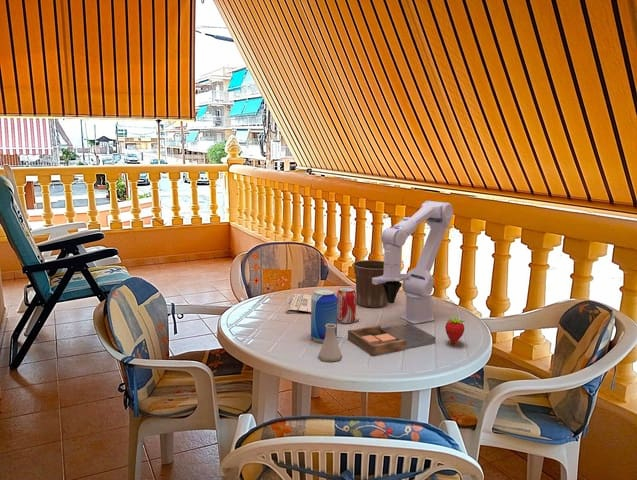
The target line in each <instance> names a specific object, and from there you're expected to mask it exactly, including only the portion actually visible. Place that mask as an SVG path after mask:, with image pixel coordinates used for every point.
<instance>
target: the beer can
mask: <svg viewBox="0 0 637 480" xmlns="http://www.w3.org/2000/svg"><path fill="white" fill-rule="evenodd" d="M313 292H314V293H313V294H312V295H313V296H312V298H311V312H310V336H311V338H312V340H313V341H315V342H317V343H321V344H323V342H324V340H325V336H326V327H325V326H326V324H335V325H336V328H335V334H336V337H337V335H338V320H337V300H338V299H337V294H336V291H335V290H333V289H331V288H318V289H315V290H314V291H313Z"/></svg>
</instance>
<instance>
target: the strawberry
mask: <svg viewBox="0 0 637 480" xmlns="http://www.w3.org/2000/svg"><path fill="white" fill-rule="evenodd" d="M458 315H459V314H457V315H456V316H455V317H452V318H449V319H448V320H447V322H446V323H445V333H446V336H447V338H448V339H449V340H450V343H451V344H452V345H455V344H456V343H457V342H459V340H461V339H460V338H462V336H463V335H464V332H465V324H464V323H466V322H465V320H461V319H460V318H457V317H458Z"/></svg>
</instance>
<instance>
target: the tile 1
mask: <svg viewBox="0 0 637 480" xmlns="http://www.w3.org/2000/svg"><path fill="white" fill-rule="evenodd" d="M362 338H364V339H365V340H367V341H369V342H370V343H372V344H373V345H377V344H379V343H380V340H378V339H377V338H375V337H374V336H372V335H368V336H363V337H362Z"/></svg>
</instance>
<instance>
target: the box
mask: <svg viewBox="0 0 637 480" xmlns="http://www.w3.org/2000/svg"><path fill="white" fill-rule="evenodd" d="M381 328H382V326H381V325H379V324H378V325H373V326H365V327H360V328H355V329H348V330H347V340H348V341H349V342H352V343H353V344H354V345H356V346H357V347H359V348H360V349H362V350H363V351H364V352H365V353H367V354H369V355H370V356H372V357H376V356H379V355H387V354H391V353H396V352H401V351H405V350H407V349H406V340H398V341H393V342H387V343H382V344H377V345H373V344H372V343H370V342H369V341H367V340H365V339H364V338H362V337H363V336H368V335H372V336H376V335H381Z"/></svg>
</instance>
